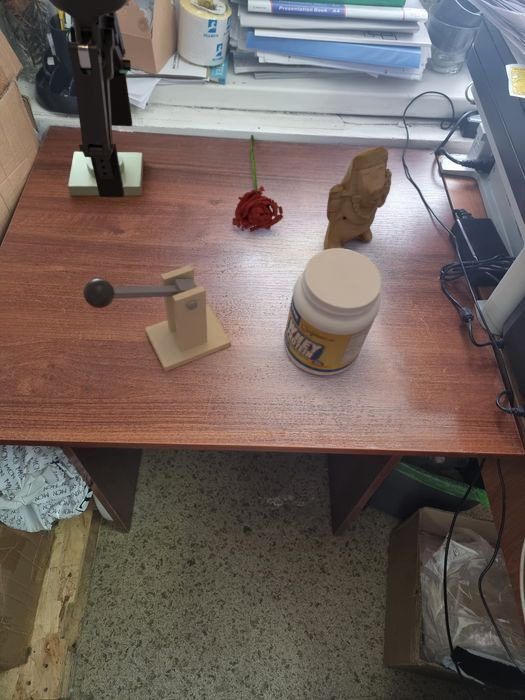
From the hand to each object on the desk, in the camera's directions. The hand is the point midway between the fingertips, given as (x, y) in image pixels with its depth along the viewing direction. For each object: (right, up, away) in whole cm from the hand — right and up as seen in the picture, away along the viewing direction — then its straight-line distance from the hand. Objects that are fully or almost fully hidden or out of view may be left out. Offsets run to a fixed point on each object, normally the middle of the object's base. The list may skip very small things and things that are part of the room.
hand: (117, 157), depth 62 cm
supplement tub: (+27, -23, +19) cm, 40 cm away
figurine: (+33, -4, +31) cm, 46 cm away
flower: (+18, +9, +38) cm, 43 cm away
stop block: (-12, +10, +36) cm, 39 cm away
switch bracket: (+6, -22, +17) cm, 29 cm away
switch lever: (+2, -17, +5) cm, 18 cm away
